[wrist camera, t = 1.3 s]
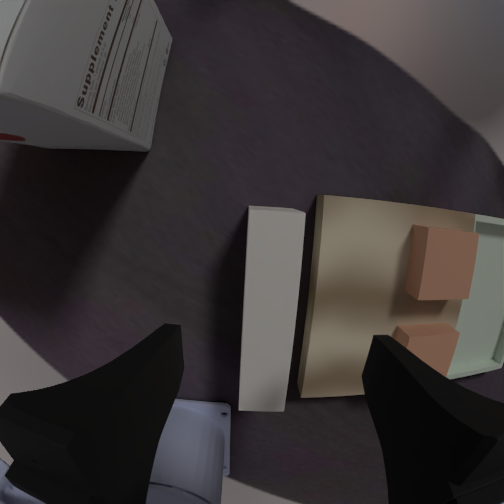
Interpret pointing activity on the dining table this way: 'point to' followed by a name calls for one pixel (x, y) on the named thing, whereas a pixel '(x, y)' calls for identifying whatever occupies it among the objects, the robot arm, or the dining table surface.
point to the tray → (482, 306)
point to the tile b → (441, 263)
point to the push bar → (269, 305)
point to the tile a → (430, 343)
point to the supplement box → (81, 73)
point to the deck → (363, 287)
